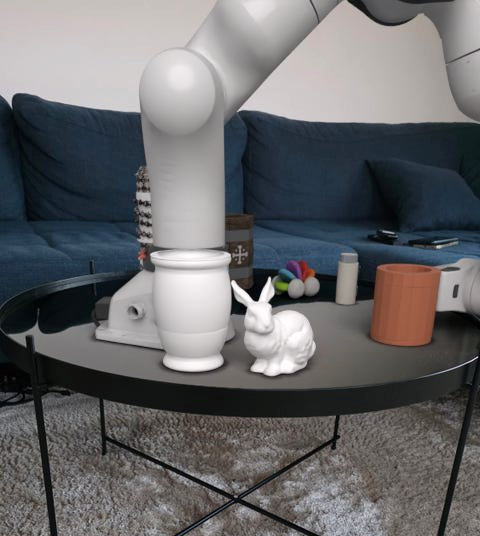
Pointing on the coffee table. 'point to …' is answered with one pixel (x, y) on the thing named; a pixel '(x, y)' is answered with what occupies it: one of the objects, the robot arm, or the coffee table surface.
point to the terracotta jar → (404, 304)
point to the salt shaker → (347, 279)
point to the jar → (191, 306)
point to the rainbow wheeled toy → (296, 280)
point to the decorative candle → (143, 210)
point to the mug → (240, 248)
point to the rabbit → (275, 334)
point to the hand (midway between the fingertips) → (398, 274)
